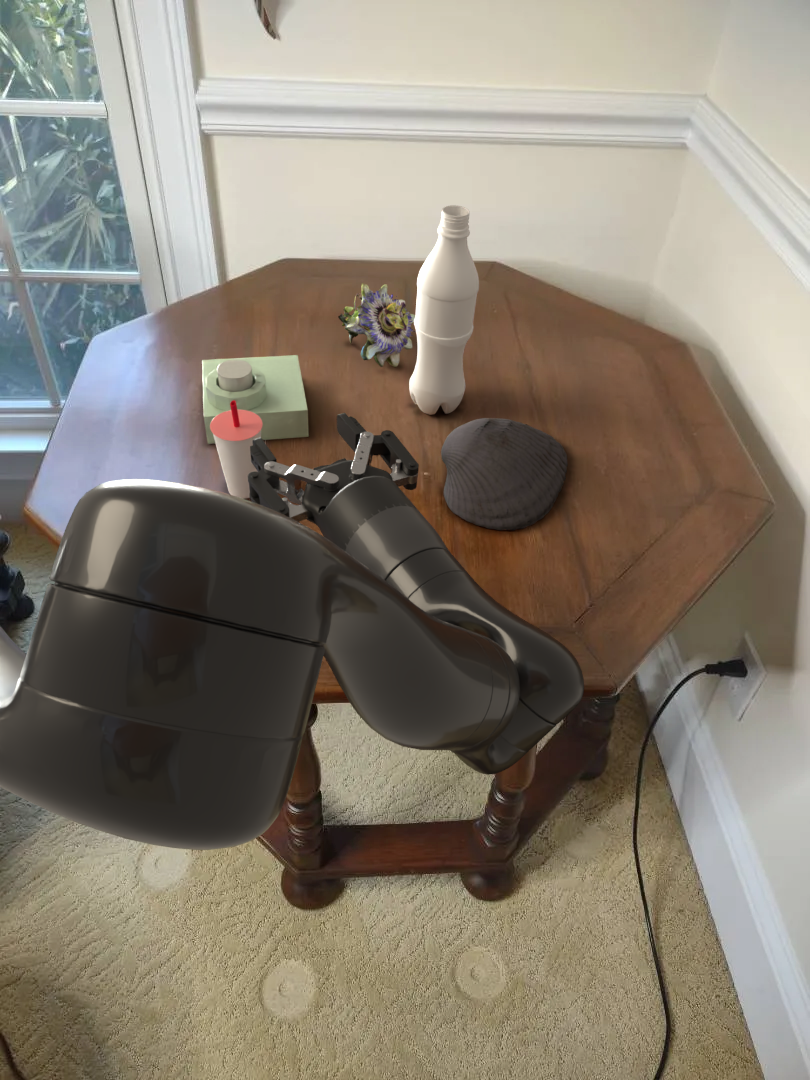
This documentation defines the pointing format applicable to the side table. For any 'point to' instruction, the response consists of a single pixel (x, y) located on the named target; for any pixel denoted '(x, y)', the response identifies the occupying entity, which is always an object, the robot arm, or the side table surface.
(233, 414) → the cup
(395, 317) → the passion flower
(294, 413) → the green button box
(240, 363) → the button
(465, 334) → the water bottle
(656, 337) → the side table surface
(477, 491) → the seashell
